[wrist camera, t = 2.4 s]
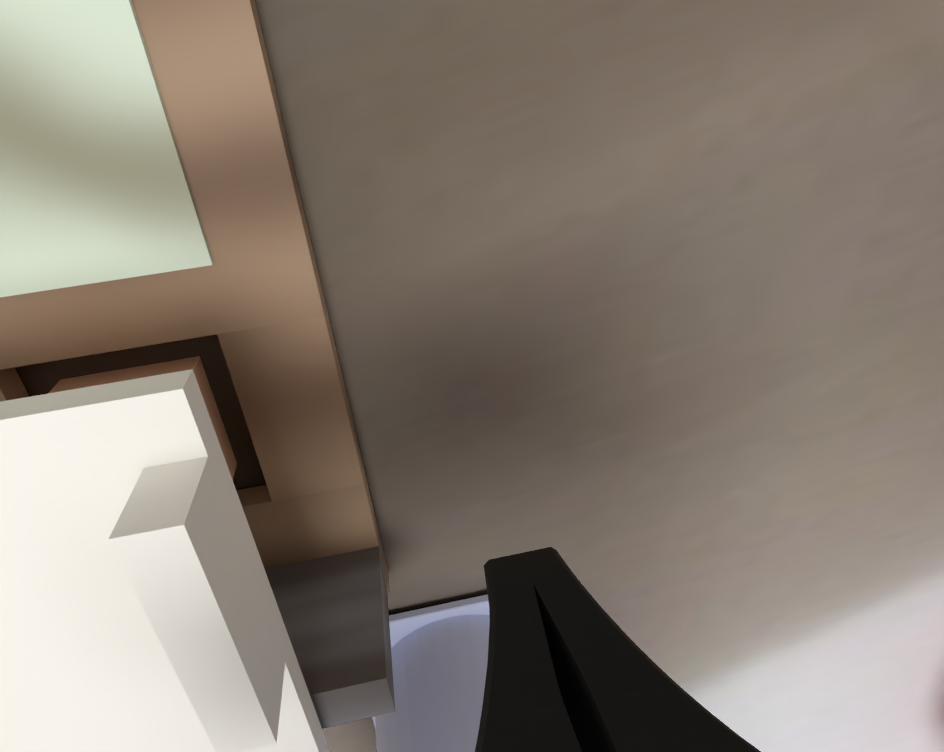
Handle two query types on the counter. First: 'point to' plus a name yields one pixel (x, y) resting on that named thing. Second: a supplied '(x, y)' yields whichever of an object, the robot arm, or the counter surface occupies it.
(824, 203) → the counter surface
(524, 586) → the robot arm
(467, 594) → the counter surface
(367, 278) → the counter surface
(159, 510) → the cover
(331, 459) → the board
